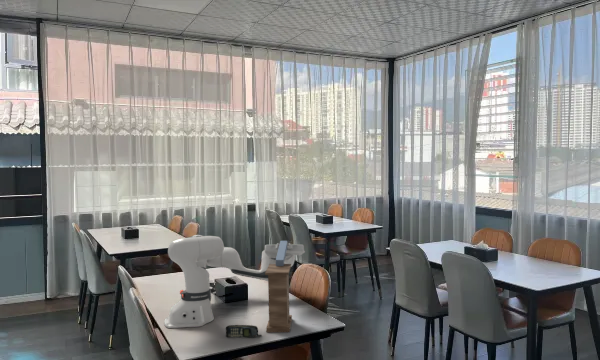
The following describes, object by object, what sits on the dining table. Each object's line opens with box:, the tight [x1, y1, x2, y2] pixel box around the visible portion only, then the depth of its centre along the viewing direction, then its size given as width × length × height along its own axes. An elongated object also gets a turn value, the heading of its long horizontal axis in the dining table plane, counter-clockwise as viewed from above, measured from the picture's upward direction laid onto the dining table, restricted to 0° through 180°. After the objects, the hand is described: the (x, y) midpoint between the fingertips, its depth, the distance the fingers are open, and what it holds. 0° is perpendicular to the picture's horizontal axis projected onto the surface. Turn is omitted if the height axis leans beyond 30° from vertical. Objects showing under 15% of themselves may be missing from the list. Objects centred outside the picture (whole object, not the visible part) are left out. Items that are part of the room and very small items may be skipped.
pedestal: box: [265, 264, 293, 333], centre depth 203 cm, size 16×10×26 cm, turn 177°
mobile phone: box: [225, 324, 263, 339], centre depth 191 cm, size 5×3×15 cm
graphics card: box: [209, 280, 216, 296], centre depth 259 cm, size 10×3×25 cm
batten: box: [276, 240, 288, 266], centre depth 218 cm, size 26×4×3 cm, turn 177°
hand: (283, 244), depth 227 cm, fingers closed on batten, 3 cm apart
